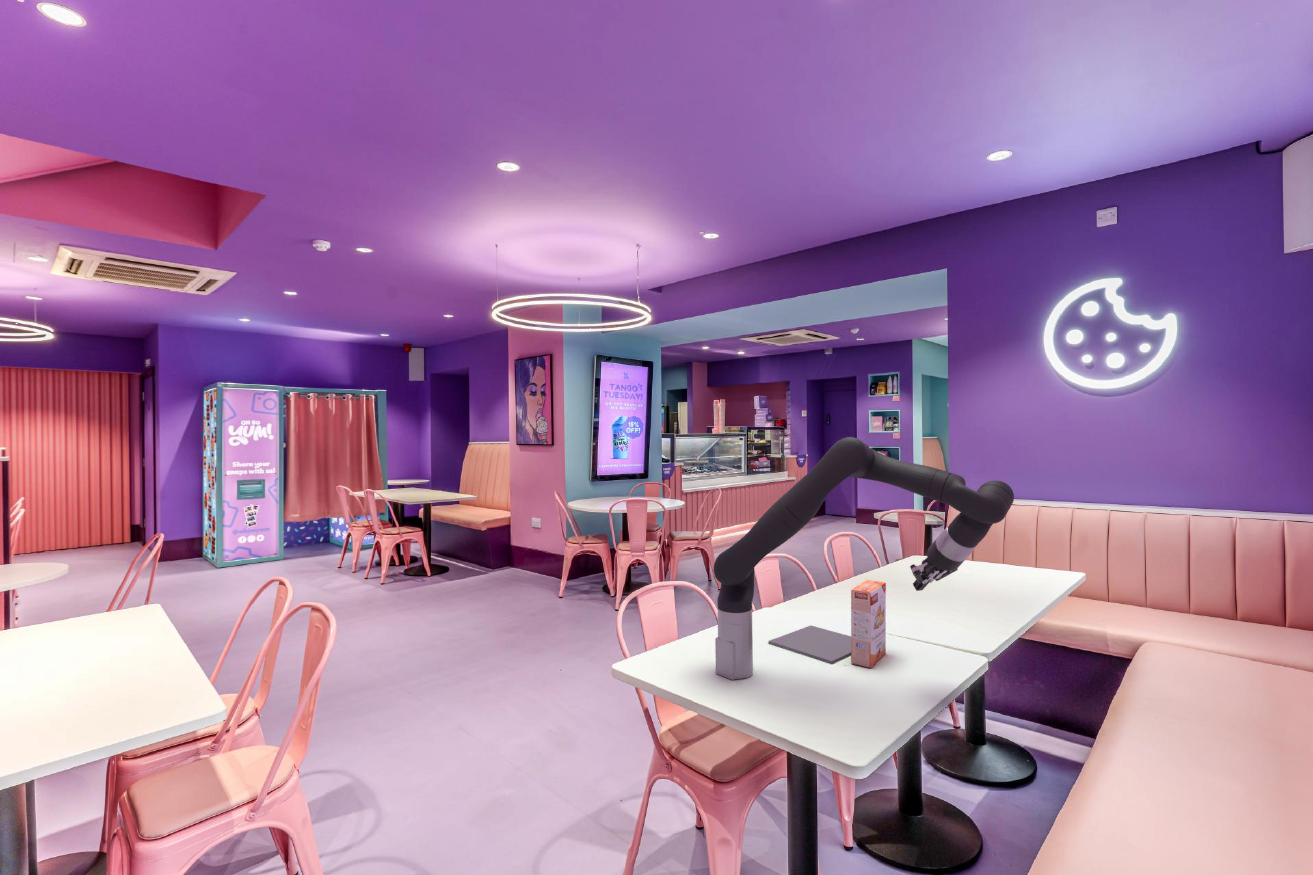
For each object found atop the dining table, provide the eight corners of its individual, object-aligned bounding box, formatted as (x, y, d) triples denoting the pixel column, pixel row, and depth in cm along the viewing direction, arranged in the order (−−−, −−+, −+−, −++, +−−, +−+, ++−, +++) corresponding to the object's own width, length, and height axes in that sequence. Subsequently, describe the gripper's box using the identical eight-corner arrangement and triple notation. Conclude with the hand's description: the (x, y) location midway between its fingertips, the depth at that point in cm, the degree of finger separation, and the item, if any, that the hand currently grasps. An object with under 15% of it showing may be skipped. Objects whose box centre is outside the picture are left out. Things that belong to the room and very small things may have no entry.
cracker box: (872, 669, 158) (871, 591, 158) (850, 664, 162) (849, 588, 162) (887, 653, 169) (886, 581, 169) (866, 649, 173) (865, 578, 173)
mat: (831, 663, 162) (831, 661, 162) (768, 643, 179) (768, 640, 179) (873, 644, 176) (872, 642, 176) (810, 627, 193) (810, 625, 193)
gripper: (966, 532, 142) (930, 572, 153) (920, 536, 138) (887, 577, 149) (984, 558, 136) (946, 597, 148) (937, 563, 133) (902, 603, 144)
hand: (917, 587), depth 149 cm, fingers closed
